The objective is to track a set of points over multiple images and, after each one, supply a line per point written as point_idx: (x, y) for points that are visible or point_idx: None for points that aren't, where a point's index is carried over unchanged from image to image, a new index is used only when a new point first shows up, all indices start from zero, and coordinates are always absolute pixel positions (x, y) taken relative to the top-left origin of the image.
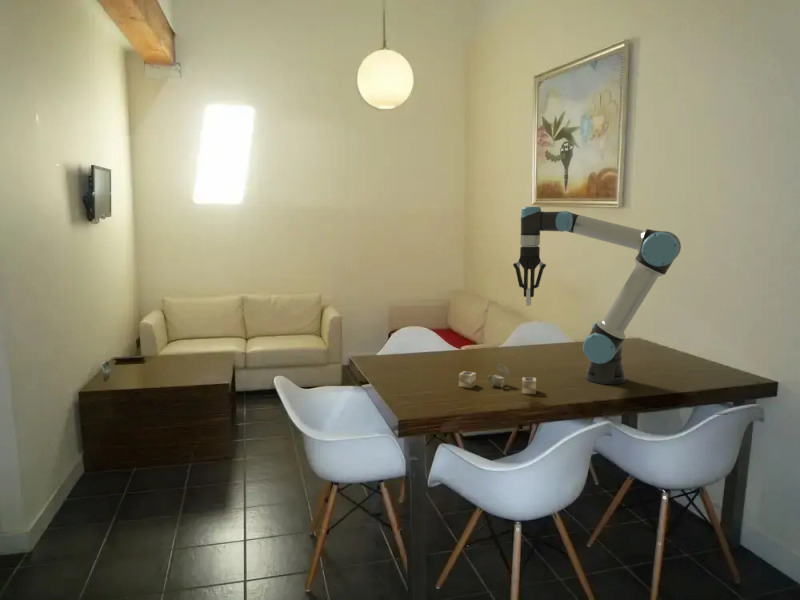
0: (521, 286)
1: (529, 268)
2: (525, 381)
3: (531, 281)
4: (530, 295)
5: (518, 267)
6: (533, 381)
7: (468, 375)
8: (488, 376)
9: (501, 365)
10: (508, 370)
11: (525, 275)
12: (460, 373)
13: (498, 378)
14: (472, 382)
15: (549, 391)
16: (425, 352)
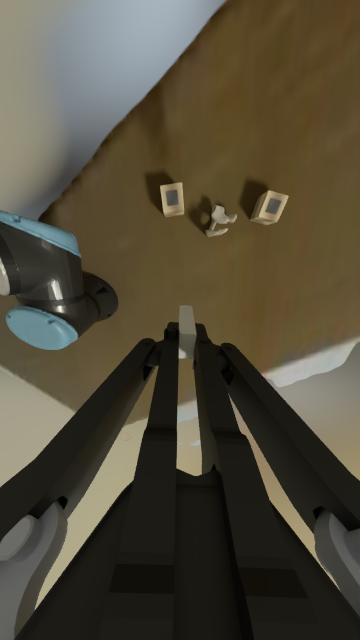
0: (223, 345)
1: (190, 488)
2: (176, 183)
3: (171, 362)
4: (178, 325)
5: (316, 513)
6: (164, 185)
7: (272, 191)
8: (236, 214)
9: (220, 230)
10: (207, 231)
11: (217, 399)
12: (285, 202)
13: (220, 206)
14: (258, 203)
15: (146, 217)
16: (301, 357)
